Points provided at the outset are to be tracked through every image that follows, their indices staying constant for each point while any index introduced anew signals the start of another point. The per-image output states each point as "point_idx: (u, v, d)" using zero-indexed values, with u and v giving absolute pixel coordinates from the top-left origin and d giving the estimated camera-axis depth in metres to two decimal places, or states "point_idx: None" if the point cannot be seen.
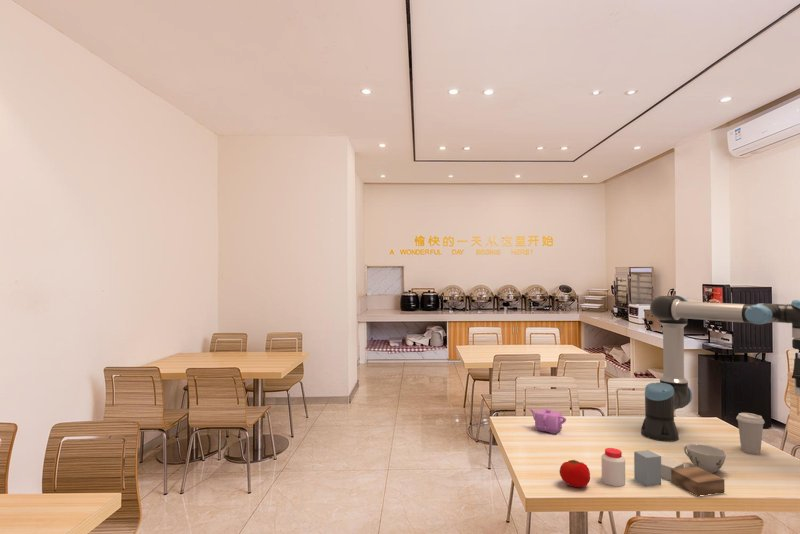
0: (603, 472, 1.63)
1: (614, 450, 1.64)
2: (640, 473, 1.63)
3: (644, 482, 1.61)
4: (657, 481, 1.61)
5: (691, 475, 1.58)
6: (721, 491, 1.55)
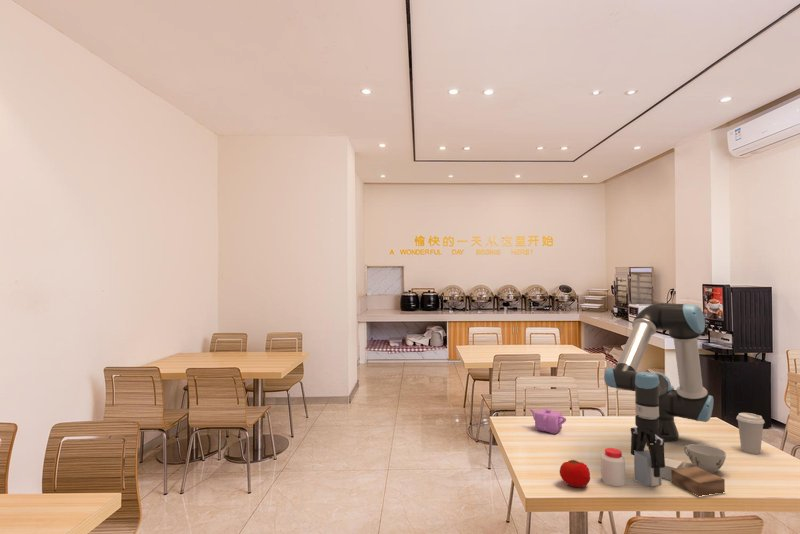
0: (603, 472, 1.63)
1: (614, 450, 1.64)
2: (640, 473, 1.63)
3: (644, 482, 1.61)
4: None
5: (692, 476, 1.58)
6: (721, 491, 1.55)
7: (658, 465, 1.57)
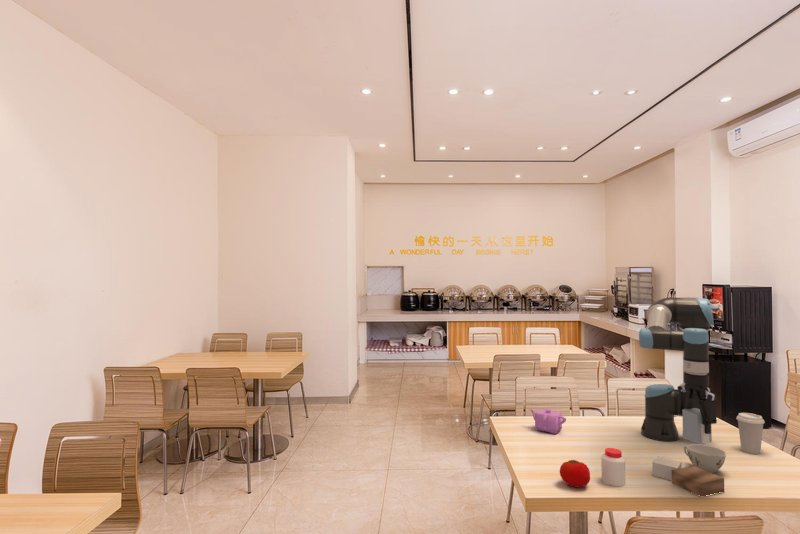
0: (603, 472, 1.63)
1: (614, 450, 1.64)
2: (689, 431, 1.59)
3: (694, 439, 1.57)
4: None
5: (693, 476, 1.58)
6: (721, 490, 1.56)
7: (710, 421, 1.54)
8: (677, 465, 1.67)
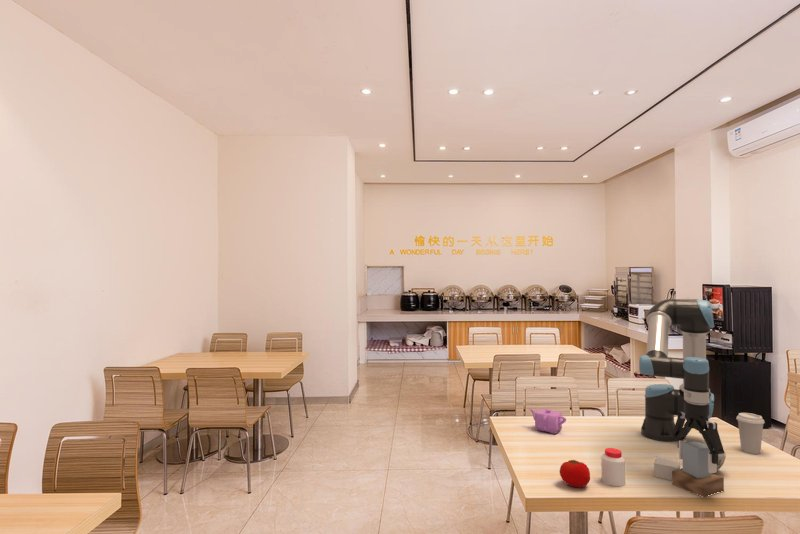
0: (603, 472, 1.63)
1: (614, 450, 1.64)
2: (689, 465, 1.59)
3: (694, 474, 1.57)
4: (707, 473, 1.57)
5: None
6: (721, 490, 1.56)
7: (717, 451, 1.51)
8: (678, 465, 1.67)
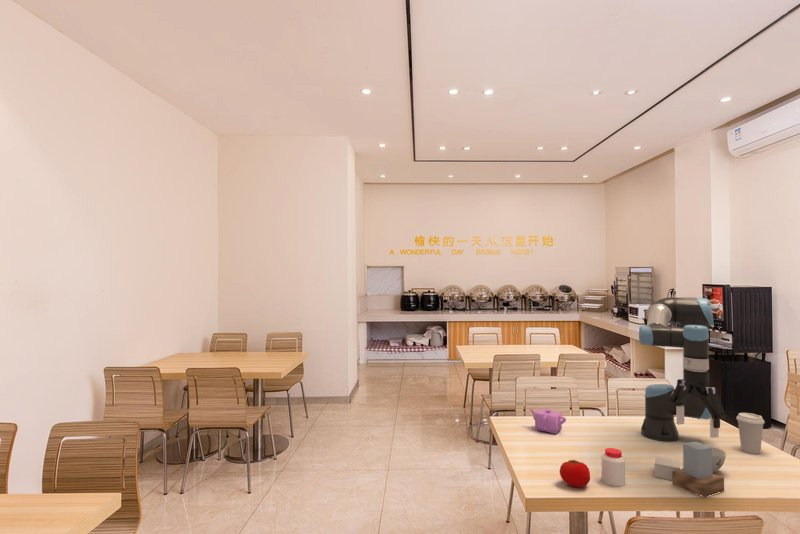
0: (603, 472, 1.63)
1: (614, 450, 1.64)
2: (689, 465, 1.59)
3: (695, 474, 1.57)
4: (708, 473, 1.57)
5: None
6: (722, 490, 1.56)
7: (719, 415, 1.51)
8: (678, 465, 1.67)
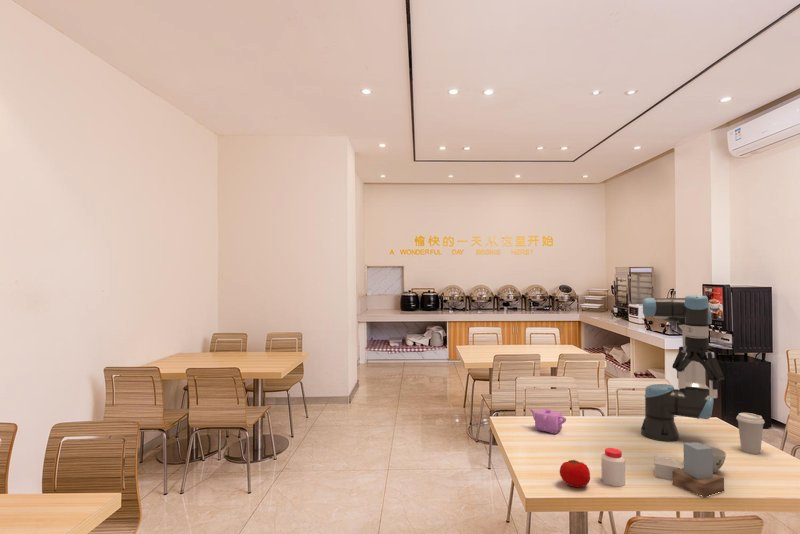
0: (603, 472, 1.63)
1: (614, 450, 1.64)
2: (690, 465, 1.59)
3: (695, 474, 1.57)
4: (708, 474, 1.57)
5: None
6: (721, 490, 1.56)
7: (717, 377, 1.63)
8: (678, 464, 1.67)
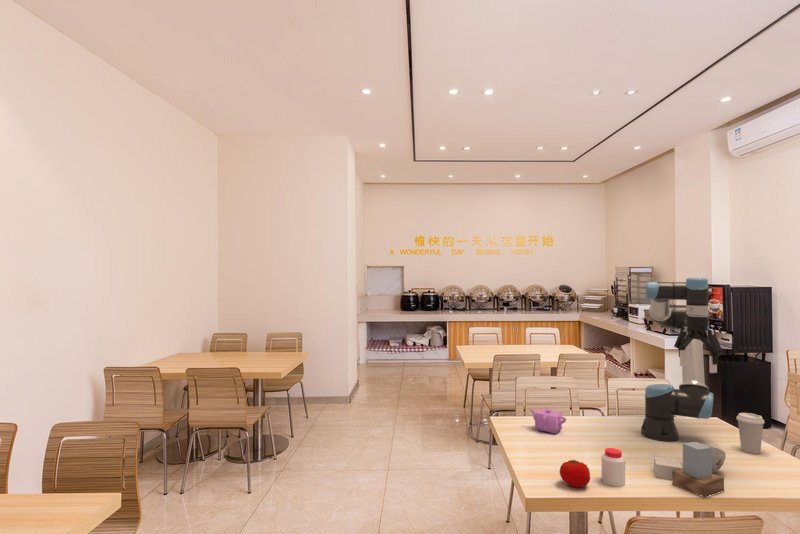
0: (603, 472, 1.63)
1: (614, 450, 1.64)
2: (689, 465, 1.59)
3: (695, 474, 1.57)
4: (708, 473, 1.57)
5: None
6: (721, 490, 1.56)
7: (717, 352, 1.73)
8: (678, 464, 1.67)
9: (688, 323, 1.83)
